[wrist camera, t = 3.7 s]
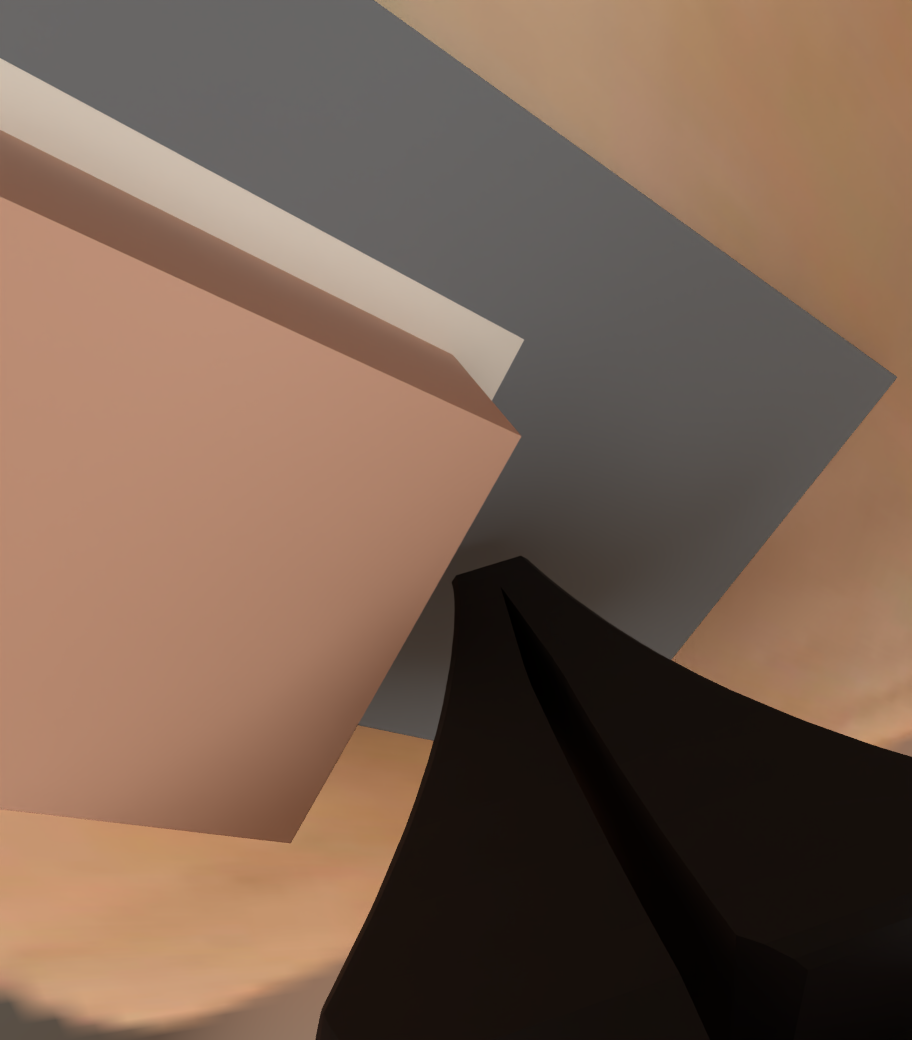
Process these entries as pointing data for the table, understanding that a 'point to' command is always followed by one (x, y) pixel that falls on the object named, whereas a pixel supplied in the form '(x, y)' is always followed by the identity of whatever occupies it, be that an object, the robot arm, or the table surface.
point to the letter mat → (469, 286)
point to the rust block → (204, 511)
